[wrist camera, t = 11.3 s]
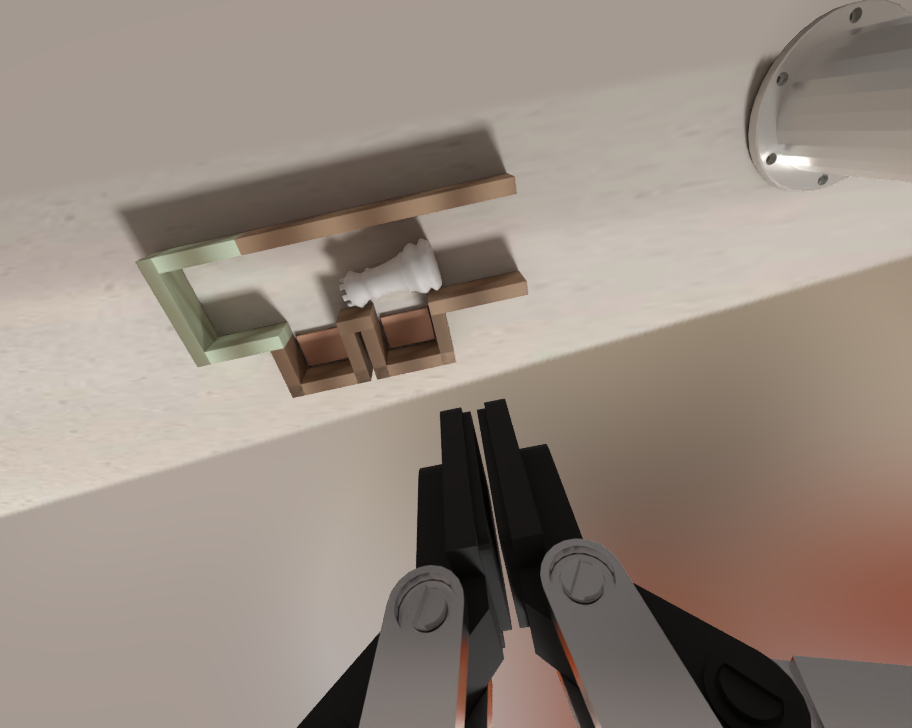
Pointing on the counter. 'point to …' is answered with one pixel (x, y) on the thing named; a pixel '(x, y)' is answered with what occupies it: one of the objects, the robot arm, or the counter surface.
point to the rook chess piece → (394, 275)
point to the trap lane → (355, 325)
